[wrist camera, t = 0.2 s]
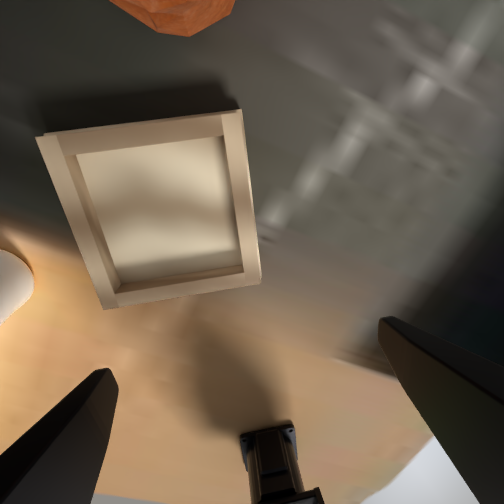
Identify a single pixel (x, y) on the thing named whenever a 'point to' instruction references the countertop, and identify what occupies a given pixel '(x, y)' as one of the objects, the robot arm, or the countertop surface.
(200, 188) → the square tray
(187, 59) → the countertop surface
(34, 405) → the countertop surface
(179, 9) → the bread
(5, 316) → the white tumbler
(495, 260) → the countertop surface
